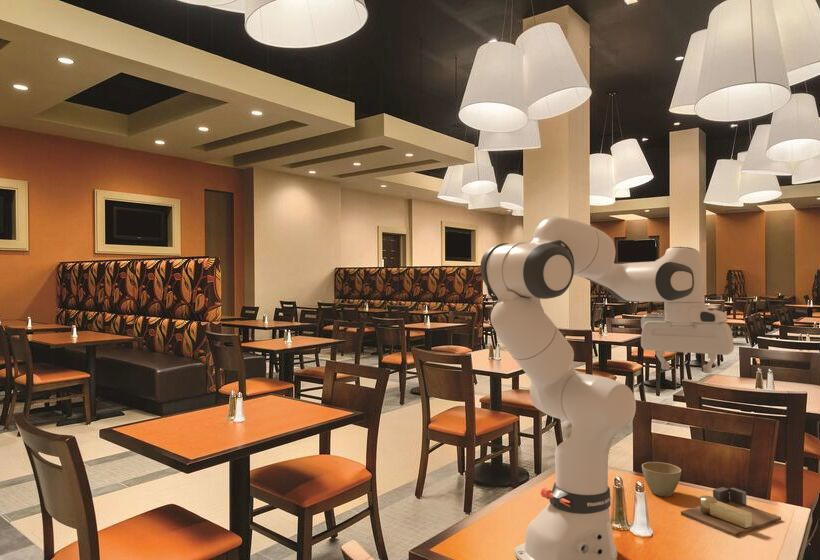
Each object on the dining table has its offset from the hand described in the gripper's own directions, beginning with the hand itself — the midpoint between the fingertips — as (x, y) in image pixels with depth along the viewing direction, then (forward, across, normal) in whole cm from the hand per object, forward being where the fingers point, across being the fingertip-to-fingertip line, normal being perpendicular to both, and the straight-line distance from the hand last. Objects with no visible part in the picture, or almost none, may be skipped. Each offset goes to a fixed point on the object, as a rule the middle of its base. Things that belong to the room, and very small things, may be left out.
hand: (686, 370), depth 134 cm
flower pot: (+37, -12, +16) cm, 42 cm away
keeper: (+36, +5, +17) cm, 41 cm away
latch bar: (+36, +6, +6) cm, 37 cm away
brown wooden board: (+37, +6, +10) cm, 39 cm away
